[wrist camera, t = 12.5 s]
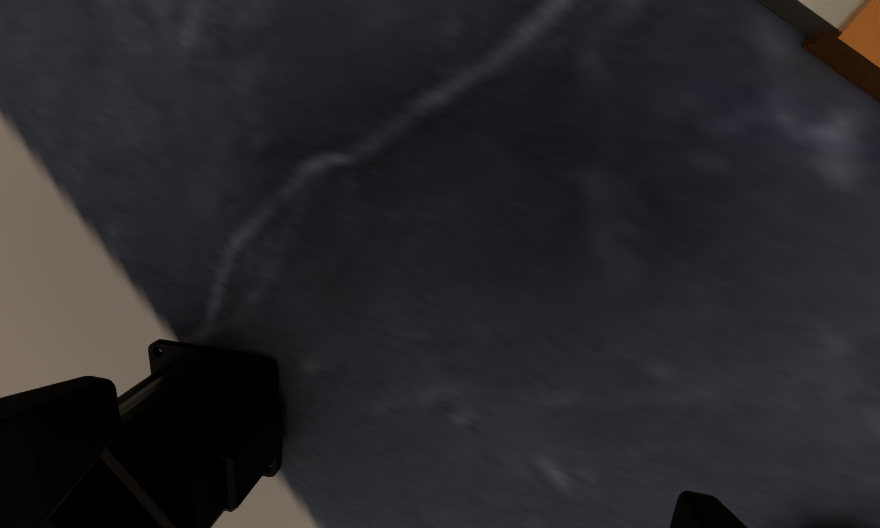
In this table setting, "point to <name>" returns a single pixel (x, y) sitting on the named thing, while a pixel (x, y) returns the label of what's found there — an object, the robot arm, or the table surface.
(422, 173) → the table surface
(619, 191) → the table surface
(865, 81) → the ratchet
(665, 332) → the table surface
